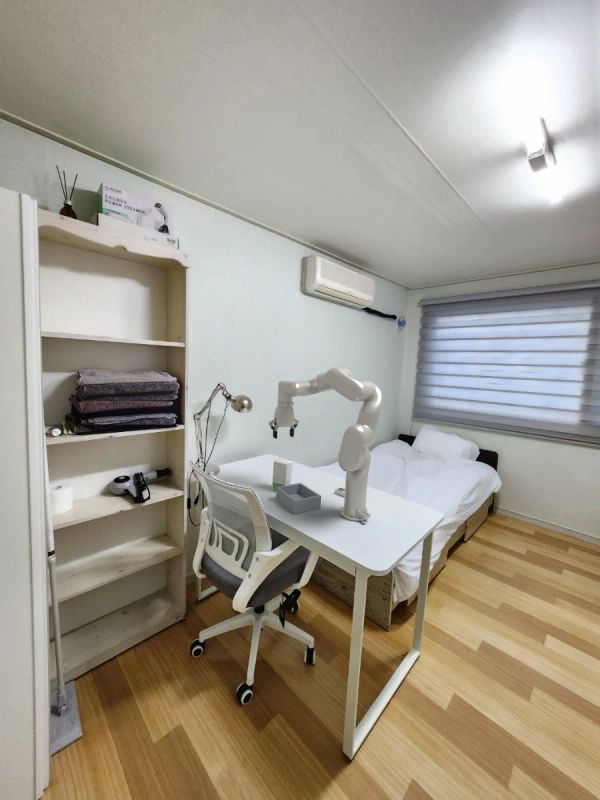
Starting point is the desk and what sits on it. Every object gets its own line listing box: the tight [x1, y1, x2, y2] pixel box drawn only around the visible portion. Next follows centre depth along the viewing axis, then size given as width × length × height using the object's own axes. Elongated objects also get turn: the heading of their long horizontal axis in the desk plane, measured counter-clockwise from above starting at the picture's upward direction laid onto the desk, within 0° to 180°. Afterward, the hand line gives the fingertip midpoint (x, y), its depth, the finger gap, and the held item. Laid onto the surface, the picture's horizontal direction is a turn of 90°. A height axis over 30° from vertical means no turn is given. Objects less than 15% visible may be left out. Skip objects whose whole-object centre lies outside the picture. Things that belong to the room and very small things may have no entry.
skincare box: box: [271, 458, 293, 492], centre depth 162 cm, size 8×7×16 cm
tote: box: [275, 482, 322, 515], centre depth 146 cm, size 18×14×6 cm
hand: (283, 437), depth 159 cm, fingers open, 9 cm apart
